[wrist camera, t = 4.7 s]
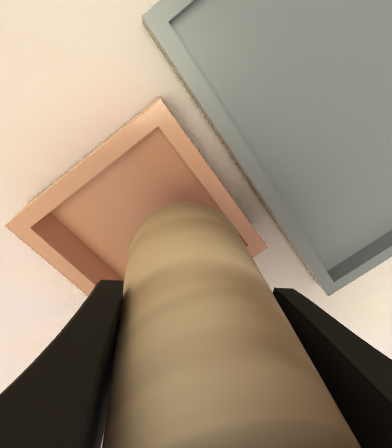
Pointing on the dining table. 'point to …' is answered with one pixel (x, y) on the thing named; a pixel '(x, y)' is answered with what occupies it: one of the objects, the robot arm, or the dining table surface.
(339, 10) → the slate tray
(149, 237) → the birch peg
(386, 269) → the dining table surface
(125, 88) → the dining table surface
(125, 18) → the dining table surface
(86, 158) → the square terracotta tray
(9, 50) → the dining table surface
